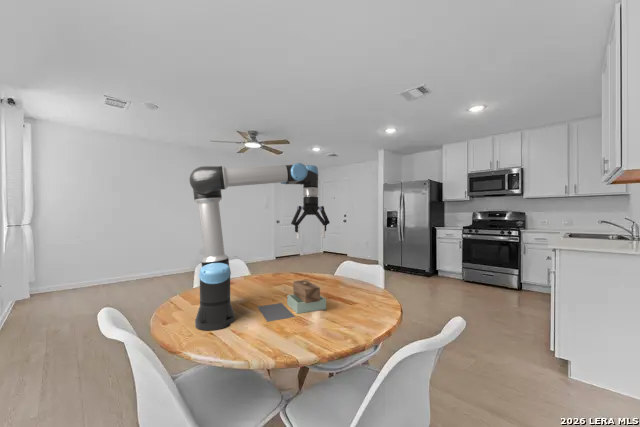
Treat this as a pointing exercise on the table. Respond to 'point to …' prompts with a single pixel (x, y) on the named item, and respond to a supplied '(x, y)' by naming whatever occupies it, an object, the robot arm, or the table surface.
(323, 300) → the dish
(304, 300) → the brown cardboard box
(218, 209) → the robot arm
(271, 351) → the table surface
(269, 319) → the mat
